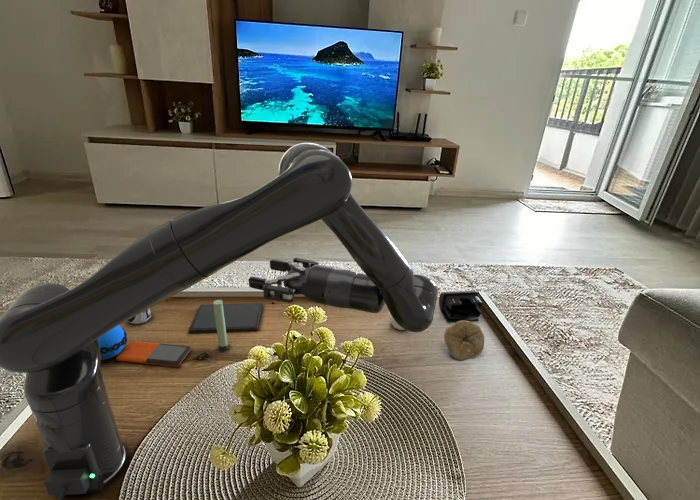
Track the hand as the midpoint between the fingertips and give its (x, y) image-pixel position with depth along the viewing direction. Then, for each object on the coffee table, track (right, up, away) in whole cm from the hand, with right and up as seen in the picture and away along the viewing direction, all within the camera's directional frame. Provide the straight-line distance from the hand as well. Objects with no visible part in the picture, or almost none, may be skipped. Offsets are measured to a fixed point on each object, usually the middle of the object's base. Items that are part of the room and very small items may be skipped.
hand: (260, 272), depth 82 cm
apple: (+32, -16, +23) cm, 43 cm away
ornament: (-37, -20, +9) cm, 43 cm away
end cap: (+49, -14, +29) cm, 59 cm away
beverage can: (-37, -14, +23) cm, 46 cm away
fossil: (+46, -20, +14) cm, 52 cm away
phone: (-27, -20, +10) cm, 35 cm away
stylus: (-12, -19, +13) cm, 26 cm away
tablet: (-14, -14, +24) cm, 31 cm away
